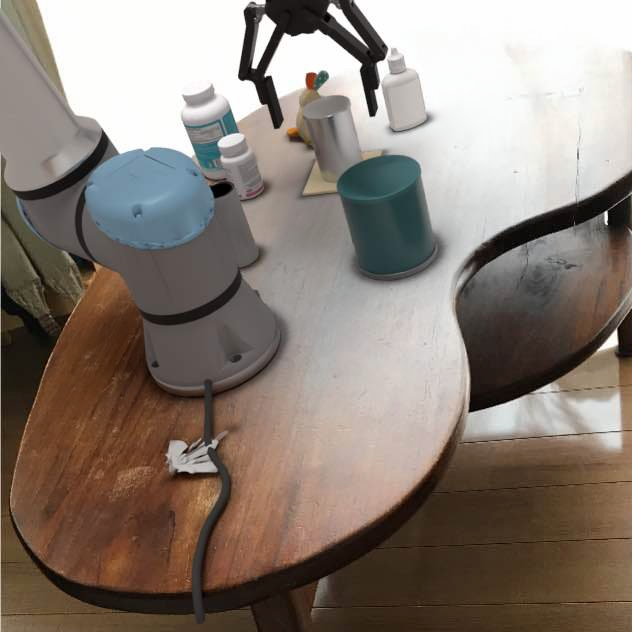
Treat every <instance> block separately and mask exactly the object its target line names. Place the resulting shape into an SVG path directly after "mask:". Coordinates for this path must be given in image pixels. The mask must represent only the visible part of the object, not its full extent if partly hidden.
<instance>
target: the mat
mask: <svg viewBox="0 0 632 632" xmlns="http://www.w3.org/2000/svg"><path fill="white" fill-rule="evenodd" d="M382 154H383V150H382V149H381V150H380V149H379V150H373V151H365V152H362V156H363V160H367V159H370V158H373V157H377V156H383V155H382ZM331 193H332V194H333V193H338V191H337V183H331V182H327V181H325V180H323V179H322V177H321V173H320V170H319V166H318V163H317V159H316V158H315V162H314V164H313V167H312V169H311V172H310V174H309V177H308V179H307V181H306V184H305V186H304V189H303V191H302V196H303V197H306V196H314V195H316V196H317V195H324V194H325V195H326V194H331Z"/></svg>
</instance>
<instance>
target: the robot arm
mask: <svg viewBox="0 0 632 632" xmlns="http://www.w3.org/2000/svg"><path fill="white" fill-rule="evenodd" d="M264 2H265V3H258V4H257V3H256V2H255V1H253V0H252V1H250V2H248V4H246V6H245V8H244V9H243V19H244V24H245V30H244V35H243V40H242V48H241V53H240V54H241V55H240V60H239V65H238V72H237V78H238V80H239V81H241V82H245V81H247V82H251V83H252V84H253V85H254V87H255V91H256V93H257V97H258V101H259V103H260V104H261V106H267V109H268V113H269V115H270V116H269V117H270V119H271V123H272V126H273V129H274V130H279V129H280V128H281V127H282V125H283V123H284V121H285V118H284V114H283V112H282V108H281V104H280V101H279V96H278V93H277V90H276V87H275V83H274V79H273V76H272V75H271V74H270V75H266V73H267V71H268V69H269V67H270V65H271V63H272V61H273V58H274V56H275V54H276V52H277V50H278V48H279V46H280V44H281V42H282V39H283V37H284V35H285V34H286V35H288V36H290V37H297V36H299V35H311V34H312V35H313V34H315V33H316V32H317V31H319V33H321V34H323V36H328V37H329V38H330V39H331V40H332V41H334V43H336V44H337V45H338V46H340V47H341V48H342V49H343V50H344V51H346V52H347V53H348V54H349V55H351V56H352V57H353V59H356V61H358V62H359V63H360V64H361V66H360V68H359V75H360V80H361V84H362V89H363V94H364V98H365V103H366V107H367V111H368V112H367V113H368V116H369V118H373V117H374V118H375V117H376V115H377V113H378V110H379V104H378V100H377V94H376V91H377V90H379V87H380V86H381V78H380V74H379V73H380V72H379V67H378V63H380V62H383V61H385V60H386V59H387V55H388V53H389V47H388V45H387V44H386V43H385V41H384V40H383V39H382V37H381V36H380V35H379V33H378V32H377V30H376V29H375V28H374V26H373V25H372V24H371V23H370V21H369V20H368V18H367V17H366V16H365V14H364V13H363V12H362V11H361V9H360V7H359V6H358V5H357V3H356V2H355V0H264ZM331 4H332V5H334V6H335V8H336V9H337V10H341V12H342V14H343V16H344V18H346V20H347V21H348V23H349V24H350V25H351V26H352V28H353V29H354V30H355V32H356V34H358V36H359V37H360V39H362V41H363V42H364V43H363V42H362V41H361V40H360V39H359V38H358V37H356V36H355V35H354V34H352V33H351V32H350V31H349V30H348V29H347V28H346V27H344V26H343V25H342V24H341V23H340V22H338V20H337V18H336V17H335V16H334V15H332V14H331V13H330V12H329V11H328V10H329V7H330V5H331ZM264 15H266V17H267V18H268V19H269V20H270V21H271V22H273V24H275V27H274V29H273V31H272V34H271V36H270V38H269V41H268V42H267V45H266V46H265V49H264V51H263V53H262V55H261V57H260V59H259V61H258V64H257V66H256V67H253V63H254V57H255V52H256V47H257V46H256V45H257V40H258V35H259V30H260V29H259V28H260V23H261V22H262V21H263V19H264ZM7 16H8V15H6V13H5V12H4V10H3V9H2V8H1V7H0V154H1V156H2V157H3V158H4V160H5V161H6V162H5V167H4V173H3V178H4V182H5V183H6V185H7V187H8V188H9V189H10V190H11V192H13V194H14V195H15V201H16V205H17V209H18V212H19V214H20V216H21V218H22V220H23V221H24V222H25V224H26V225H27V227H28V228H29V229H30V230H31V231H32V232H33V233H34V234H35V235H36V236H38V237H39V238H40V239H41V240H43V241H44V242H45V243H46V244H48V245H49V246H51V247H53V248H55V249H58V250H59V251H63V252H66V253H70V254H72V255H75V256H77V257H80V258H81V259H84V260H87V261H89V262H92V263H94V264H96V265H99V266H101V267H104V268H105V269H108V270H110V271H112V272H114V273H117V274H118V275H119V276H120V277H121V278H122V280H123V281H124V283H125V285H126V288H127V290H128V291H129V294H130V296H131V297H132V300H133V302H134V304H135V306H136V307H137V310H138V311H139V313H140V315H141V318H142V327H143V340H144V350H145V360H146V363H147V367H148V371H149V372H150V374H151V376H152V378H153V380H154V382H155V383H156V384H157V386H158V387H159V388H161V389H162V390H163V391H165V392H166V393H169V394H172V395H175V396H181V397H203V396H204V421H203V442H205V447H207V446H208V445H210V444H212V439H213V437H212V432H213V431H212V429H213V428H212V426H213V425H212V424H213V395H214V394H218V393H222V392H225V391H227V390H230V389H232V388H234V387H236V386H238V385H240V384H242V383H244V382H246V381H248V380H249V379H250V378H252V377H254V376H255V375H256V374H257V373H259V372H260V371H261V370H263V368H264V367H265V366H266V365H267V364H268V363H269V362H270V361H271V360H272V358H273V357H274V356H275V353H276V352H277V350H278V348H279V346H280V342H281V330H280V327H279V324H278V322H277V321H278V320H277V319H276V315H275V314H274V313H273V311H272V310H271V308H270V306H269V305H268V304H267V303H266V302H264V301H263V299H262V298H261V295H260V292H259V290H258V289H254V288H253V287H252V286H251V285H250V284H249V282H248V281H246V279H245V278H244V277H243V275H242V272H241V270H240V269H241V268H239V267H238V264H237V261H236V259H235V256H234V253H233V251H232V248H231V245H230V243H229V240H228V237H227V235H226V232H225V229H224V227H223V224H222V221H221V219H220V216H219V213H218V211H217V208H216V205H215V203H214V196H213V193H212V191H211V188H210V186H209V185H210V184H209V183H208V181H207V180H206V178H205V175H204V174H203V172H202V169H201V167H200V166H199V165H198V164H197V163H196V161H195V160H193V158H191V157H190V156H189V155H187V154H186V153H184V152H182V151H179V150H177V149H174V148H169V147H161V146H153V147H152V146H151V147H149V148H148V149H146V150H143V148H135V149H131V150H128V151H125V152H122V153H120V152H119V150H118V149H117V148H116V146H115V144H114V143H113V142H112V140H111V139H110V137H109V135H108V134H107V133H106V131H105V129H103V127H102V126H101V124H100V123H99V122H98V121H97V120H96V119H95V118H93V117H89V116H86V115H85V116H84V115H78V114H76V113H75V112H74V111H73V109H72V107H71V106H70V105H69V103H68V102H67V101H66V99H65V98H64V96H63V95H62V93H61V92H60V90H59V89H58V88H57V87H56V85H55V83H54V82H53V81H52V79H51V78H50V76H49V75H48V73H47V72H46V71H45V69H44V67H43V66H42V65H41V64H40V61H38V59H37V58H36V56H35V55H34V53H33V52H32V51H31V49H30V47H29V46H28V45H27V44H26V42H25V41H24V39H23V38H22V37H21V36H22V35H20V33H19V32H18V30H17V29H16V28H15V27H14V25H13V23H12V22H11V20H10V19H9V17H7ZM265 75H266V76H265ZM206 455H208V456H209V458H210V459H211V462H213V464H214V465H215V466H216V468H217V469H218V470H217V472H218V473H219V474H220V478H221V489H220V493H219V496H218V498H217V499H216V502H215V504H214V506H213V507H212V509H211V510H210V512H209V514H208V515H207V517H206V518H205V520H204V523H203V524H202V526H201V528H200V532H199V534H198V537H197V541H196V546H195V550H194V554H193V559H192V564H191V565H192V566H191V579H190V580H191V582H190V583H191V596H192V604H193V610H194V616H195V617H194V618H195V621H196V624H198V625H202V624H204V623H205V621H206V613H205V607H204V602H203V601H204V600H203V593H202V592H203V591H202V579H201V577H202V575H201V574H202V564H203V558H204V554H205V549H206V545H207V542H208V537H209V535H210V532H211V530H212V527H213V526H214V524H215V523H216V520H217V519H218V517H219V516H220V513H221V512H222V510H223V509H224V507H225V505H226V503H227V500H228V498H229V494H230V491H231V476H230V473H229V469H228V467H226V466H227V465H225V463H224V462H223V461H222V459H221V458H220V456H219V455H218V454H217V452H216V450H214V448H212V447H208V450H207V454H206Z"/></svg>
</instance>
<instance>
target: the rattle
mask: <svg viewBox="0 0 632 632" xmlns="http://www.w3.org/2000/svg"><path fill="white" fill-rule="evenodd" d="M329 79H330V74H329V72H328V70H325V69H321V70H319V72H318V73H316V72H313V71H310V72H309V71H308V72H307V73H306V74H305V80H304V81H305V86H306V88H304V90H303V91H301V93H300V95H299V98H298V103H299V108H298V111H297V112H296V113H297V114H296V119H295V122H296V123H295V127H291V128H288V129H287V131H286V133H285V134H286V136H288V137H291V138H292V137H300V138H301V139H302V140H303V141H304V142H305V144H306V145H310V146H313V145H312V142H311V138H310V135H309V131H308V128H307V124H306V121H305V119H304V118H303V116H302V110H303V108H304V107H305V106H306V105H307V104H309V103H310V102H312V101H314V100H316V99H319V98H322V97H325V96H326V95H322V94H321V95H320V92H318V91H319V89H321V87H323V85H324V84H326V82H327V81H328V80H329Z"/></svg>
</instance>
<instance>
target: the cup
mask: <svg viewBox="0 0 632 632" xmlns="http://www.w3.org/2000/svg"><path fill="white" fill-rule="evenodd" d="M324 96H325V97H322V98H319V99H316V100H314V101H312V102H310V103H309V104H307V105H306V106H305V107H304V108H303V110H302V116H303V118H304V119H305V121H306V124H307V128H308V131H309V135H310V138H311V142H312V145H311V146H312V147H313V148H312V149H313V152H314V156H315V160H316V159H317V163H318V166H319V170H320V173H321V177H322V179H323V180H325V181H327V182H331V183H337V181H338V179H339V177H340V176H341V175H342V174H343V173H344V172H345V171H346V170H347V169H349V168H350V167H352V166H353V165H355V164H357V163H359V162H361V161H364V160H363V156H362V153H363V152H362V148H361V145H360V140H359V137H358V132H357V128H356V123H355V121H354V120H355V119H354V116H353V113H352V109H351V106H352V103H351V99H350V98H349V97H348V96H347V95H343V94H332V95H324Z"/></svg>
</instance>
